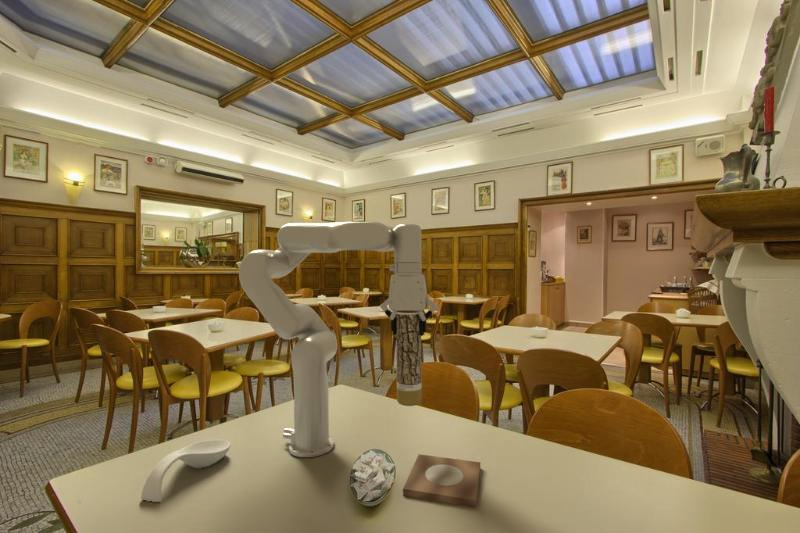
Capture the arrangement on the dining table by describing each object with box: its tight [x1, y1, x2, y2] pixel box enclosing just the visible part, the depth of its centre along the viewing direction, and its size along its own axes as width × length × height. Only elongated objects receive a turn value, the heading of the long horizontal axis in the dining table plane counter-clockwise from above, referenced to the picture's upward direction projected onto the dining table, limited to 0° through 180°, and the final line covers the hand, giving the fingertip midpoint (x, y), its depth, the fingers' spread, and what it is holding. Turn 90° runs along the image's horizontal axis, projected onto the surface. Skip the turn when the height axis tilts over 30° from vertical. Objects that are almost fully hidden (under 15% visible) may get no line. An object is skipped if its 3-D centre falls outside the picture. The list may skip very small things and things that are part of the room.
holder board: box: [402, 453, 481, 508], centre depth 88 cm, size 16×16×2 cm
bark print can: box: [395, 311, 423, 407], centre depth 102 cm, size 7×7×25 cm
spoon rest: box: [140, 439, 231, 503], centre depth 92 cm, size 24×12×7 cm, turn 171°
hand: (408, 334), depth 102 cm, fingers closed on bark print can, 6 cm apart
